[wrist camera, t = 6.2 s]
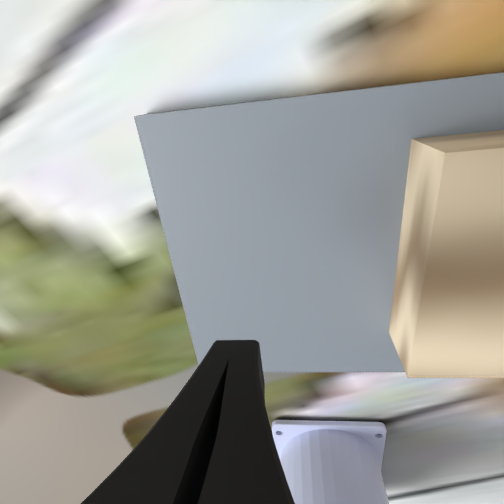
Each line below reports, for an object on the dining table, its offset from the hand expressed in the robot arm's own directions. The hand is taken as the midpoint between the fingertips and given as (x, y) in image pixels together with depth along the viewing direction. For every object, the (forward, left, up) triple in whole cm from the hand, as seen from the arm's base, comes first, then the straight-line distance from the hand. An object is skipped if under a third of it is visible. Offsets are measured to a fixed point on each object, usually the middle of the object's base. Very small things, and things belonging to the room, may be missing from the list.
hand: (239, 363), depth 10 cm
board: (0, -9, -8) cm, 12 cm away
